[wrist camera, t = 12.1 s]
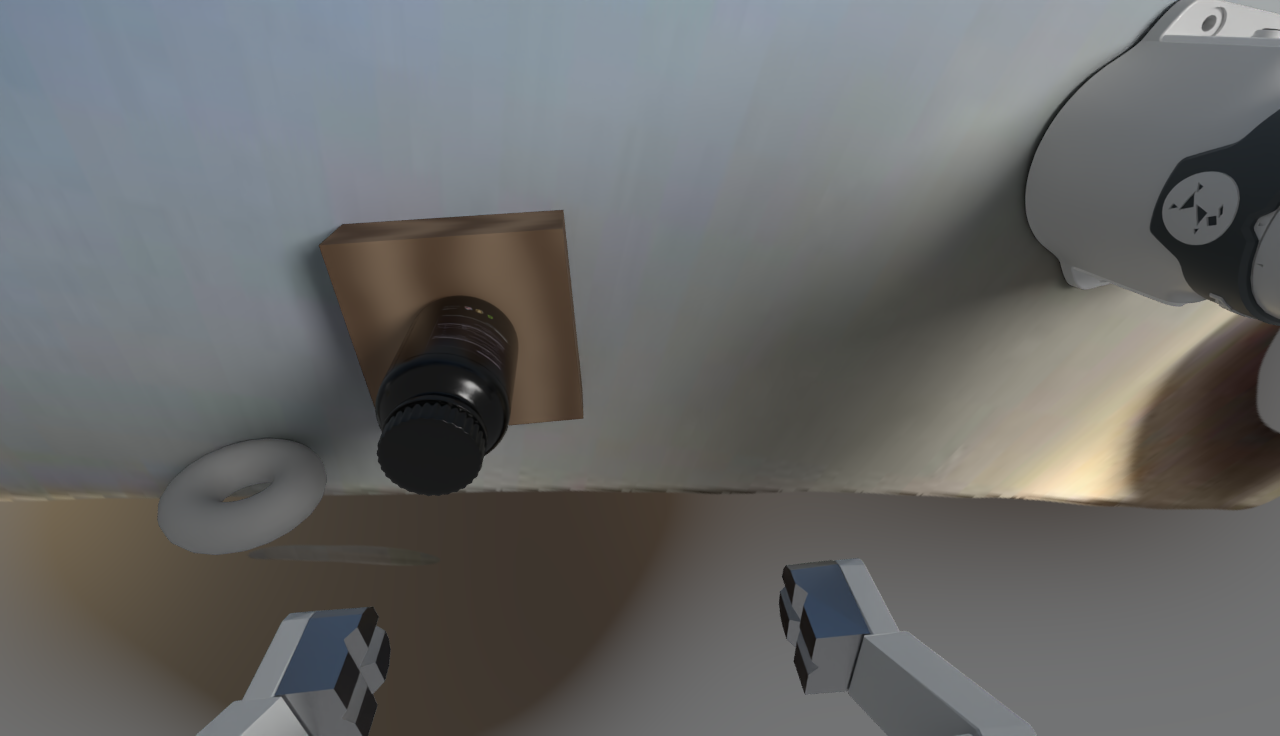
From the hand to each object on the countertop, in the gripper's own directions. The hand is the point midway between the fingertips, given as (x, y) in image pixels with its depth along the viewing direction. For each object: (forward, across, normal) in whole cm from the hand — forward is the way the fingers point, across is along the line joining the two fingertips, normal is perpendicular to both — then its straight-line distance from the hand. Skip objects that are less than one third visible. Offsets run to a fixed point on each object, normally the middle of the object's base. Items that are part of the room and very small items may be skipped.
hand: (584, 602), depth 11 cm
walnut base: (+30, +8, +8) cm, 32 cm away
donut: (+30, +26, +18) cm, 43 cm away
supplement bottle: (+26, +8, +7) cm, 28 cm away
